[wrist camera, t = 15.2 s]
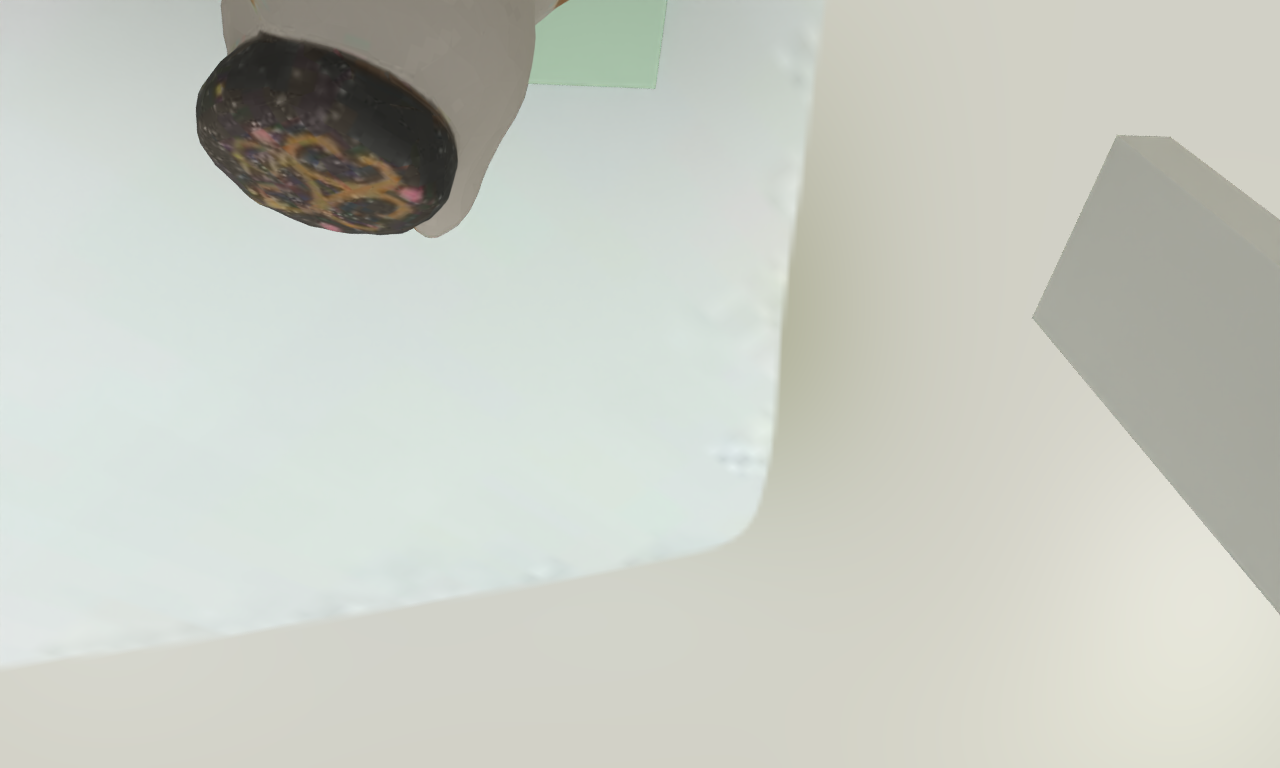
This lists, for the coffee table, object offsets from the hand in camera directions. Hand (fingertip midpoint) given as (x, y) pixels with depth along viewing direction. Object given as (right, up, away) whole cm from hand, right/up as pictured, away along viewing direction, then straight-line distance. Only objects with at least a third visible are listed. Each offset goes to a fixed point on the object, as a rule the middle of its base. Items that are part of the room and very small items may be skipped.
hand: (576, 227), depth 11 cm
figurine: (-4, +12, +15) cm, 20 cm away
